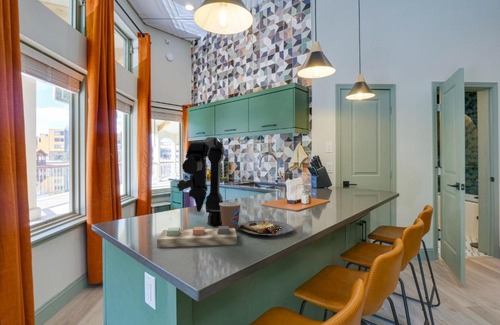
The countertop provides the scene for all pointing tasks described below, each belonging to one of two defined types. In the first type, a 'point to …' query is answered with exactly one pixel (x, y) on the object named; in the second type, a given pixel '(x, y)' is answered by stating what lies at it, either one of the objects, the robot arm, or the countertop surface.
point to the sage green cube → (173, 231)
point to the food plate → (265, 227)
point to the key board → (197, 238)
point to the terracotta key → (199, 231)
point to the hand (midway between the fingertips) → (198, 211)
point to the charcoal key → (223, 229)
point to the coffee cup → (230, 214)
